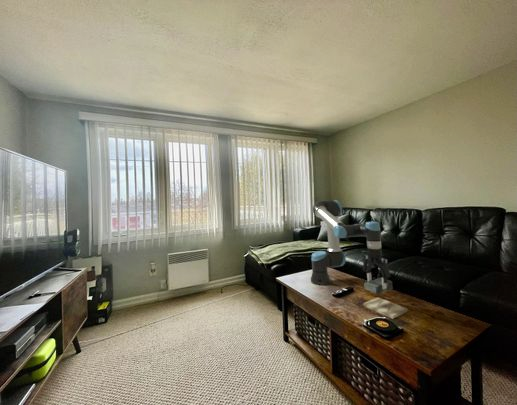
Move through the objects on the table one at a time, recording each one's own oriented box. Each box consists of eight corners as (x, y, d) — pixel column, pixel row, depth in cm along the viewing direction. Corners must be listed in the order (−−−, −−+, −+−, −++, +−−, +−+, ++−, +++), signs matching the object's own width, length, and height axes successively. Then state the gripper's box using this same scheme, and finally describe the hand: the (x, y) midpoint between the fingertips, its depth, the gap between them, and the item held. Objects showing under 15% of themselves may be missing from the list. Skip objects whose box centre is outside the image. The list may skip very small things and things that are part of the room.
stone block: (362, 290, 125) (362, 281, 125) (379, 285, 131) (378, 276, 131) (376, 295, 117) (375, 286, 117) (393, 289, 122) (392, 281, 123)
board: (363, 305, 124) (363, 303, 124) (378, 299, 130) (377, 297, 130) (392, 318, 108) (392, 315, 109) (407, 311, 115) (407, 308, 115)
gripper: (354, 246, 131) (357, 282, 131) (388, 251, 112) (391, 293, 112) (362, 244, 135) (364, 279, 134) (396, 249, 116) (399, 290, 115)
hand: (376, 285), depth 123 cm, fingers closed on stone block, 8 cm apart
